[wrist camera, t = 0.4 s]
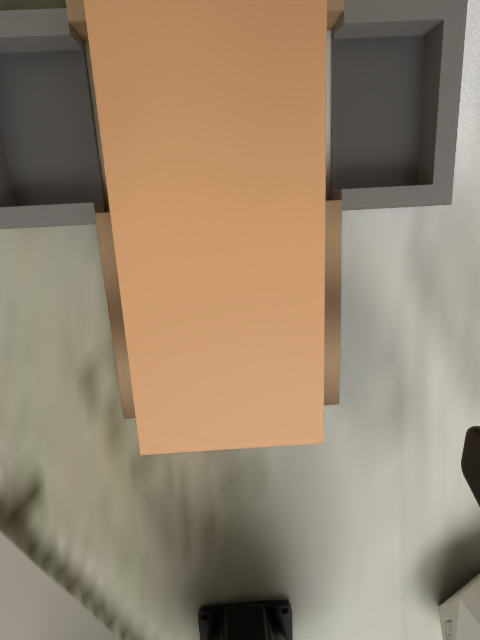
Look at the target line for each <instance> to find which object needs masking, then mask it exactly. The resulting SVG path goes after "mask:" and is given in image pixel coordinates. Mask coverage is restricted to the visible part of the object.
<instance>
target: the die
mask: <svg viewBox="0 0 480 640" xmlns="http://www.w3.org/2000/svg"><path fill="white" fill-rule="evenodd" d="M438 607H439V615H440V622H441V629H442V636H443V640H480V573H479V574H478V575H477V576H475V577H474V578H473V579H472V580H470V581H469V582H468V583H467V584H465V585H464V586H463V587H462V588H460V589H459V590H458V591H457V592H456V593H454V594H453V595H452V596H451V597H449V598H448V599H447V600H446V601H444V602H443V603H442V604H441V605H440V606H438Z"/></svg>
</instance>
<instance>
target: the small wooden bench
mask: <svg viewBox="0 0 480 640" xmlns="http://www.w3.org/2000/svg"><path fill="white" fill-rule="evenodd" d="M65 2H66V9H67V17H68V22H69V23H70V24H71V26H72V27H73V28H74V29H75V30H76V32H77V33H78V34H79V35H80V37H81V38H82V39H83V40H88V32H87V24H86V16H85V8H84V0H65ZM343 11H344V0H327V30H332V29H333V28H334V26H335V24H336V23H337V21H338V20H339V18H340V16H341V15H342V13H343ZM95 216H96V224H97V231H98V238H99V245H100V252H101V259H102V266H103V274H104V281H105V288H106V295H107V302H108V309H109V316H110V324H111V331H112V338H113V345H114V352H115V359H116V366H117V374H118V381H119V388H120V395H121V402H122V409H123V416H124V419H129V418H136V415H135V407H134V399H133V391H132V383H131V375H130V367H129V359H128V351H127V343H126V335H125V327H124V320H123V312H122V304H121V296H120V288H119V280H118V272H117V264H116V256H115V248H114V240H113V232H112V224H111V216H110V212H108V213H95ZM341 221H342V200H332V201H325V315H324V405H336V404H339V380H340V301H341Z"/></svg>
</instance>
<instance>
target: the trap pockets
mask: <svg viewBox="0 0 480 640" xmlns="http://www.w3.org/2000/svg"><path fill="white" fill-rule="evenodd" d="M467 2H468V0H344V11H343V13H342V15H341V16H340V18H339V20H338V21H337V23H336V24H335V26H334V28H333V29H332V153H331V201H332V200H342V210H360V209H379V208H397V207H415V206H434V205H451V202H452V189H453V177H454V164H455V152H456V139H457V127H458V114H459V102H460V89H461V77H462V64H463V52H464V39H465V27H466V14H467ZM95 213H106V206H105V199H104V191H103V184H102V176H101V169H100V161H99V154H98V146H97V139H96V131H95V124H94V116H93V109H92V101H91V93H90V86H89V78H88V71H87V63H86V56H85V48H84V41H83V39H82V38H81V37H80V35H79V34H78V33H77V32H76V30H75V29H74V28H73V27H72V26H71V24H70V23H69V22H68V17H67V9H66V8H52V9H27V10H2V11H0V229H10V228H29V227H47V226H66V225H84V224H96V216H95Z"/></svg>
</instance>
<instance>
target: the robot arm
mask: <svg viewBox="0 0 480 640" xmlns="http://www.w3.org/2000/svg"><path fill="white" fill-rule="evenodd" d="M461 468H462V472H463V475H464V477H465V479H466V481H467V483H468V485H469V487H470V489H471V491H472V493H473V495H474V497H475V499H476V500H477V502H478V504H479V506H480V426H473V427H470V428H469V429H468V430H467V432H466V436H465V442H464V448H463V454H462V459H461ZM198 621H199V630H200V640H292V609H291V604H290V602H289V601H287V600H277V601H265V602H252V603H240V604H228V605H215V606H204V607H202V608H200V609H199V614H198Z"/></svg>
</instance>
